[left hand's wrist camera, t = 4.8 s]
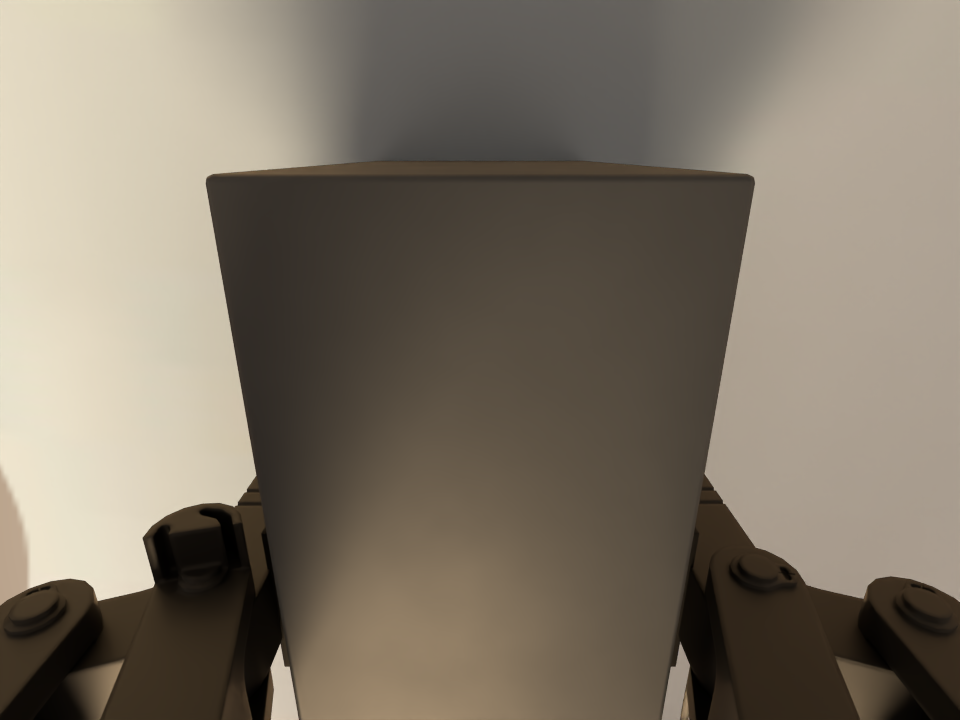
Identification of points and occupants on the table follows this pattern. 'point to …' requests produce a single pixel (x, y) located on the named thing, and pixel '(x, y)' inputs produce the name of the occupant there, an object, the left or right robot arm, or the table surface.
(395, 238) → the post
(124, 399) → the table surface
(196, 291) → the table surface
